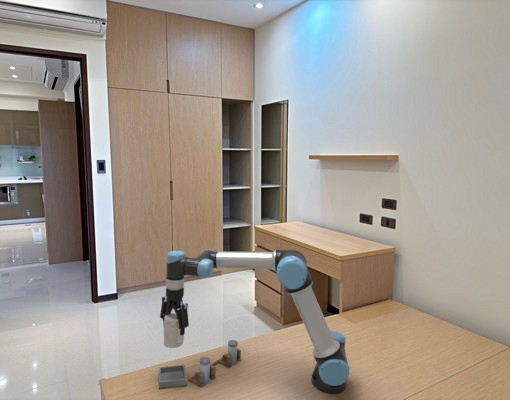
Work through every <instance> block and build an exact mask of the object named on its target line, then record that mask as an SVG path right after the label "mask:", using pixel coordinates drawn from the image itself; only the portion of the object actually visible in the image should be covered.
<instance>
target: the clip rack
mask: <svg viewBox="0 0 510 400" xmlns="http://www.w3.org/2000/svg"><path fill="white" fill-rule="evenodd" d="M241 356H242V350H241V349H239V348H237V361H238V362H239V361H241V358H242V357H241ZM231 363H232V356H230V355H228V353H225V352H224V354H222V357H220V358H218V359H217V360H215V361H214V362H212V363H210V377H209V380H214V379H215V378H216V371H217V369H216V365H218V364H219V365H221V366H223V367H226V368H227V369H229V368H231V367H232V365H231ZM187 381H188V382H190V383H191V384H193V385H195V386H196V387H200V388H203V387H204V384H203V375H202V374H200V371H196V372H194V375H192V376H191V377H189V378H188V380H187Z"/></svg>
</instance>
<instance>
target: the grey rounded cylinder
mask: <svg viewBox="0 0 510 400" xmlns="http://www.w3.org/2000/svg"><path fill="white" fill-rule="evenodd" d="M210 364H211V358H210V357H209V356H202V357H200V358H199V372H200V374H202V375H203V385H208V384H209V383H210V378H209V377H210Z"/></svg>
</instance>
